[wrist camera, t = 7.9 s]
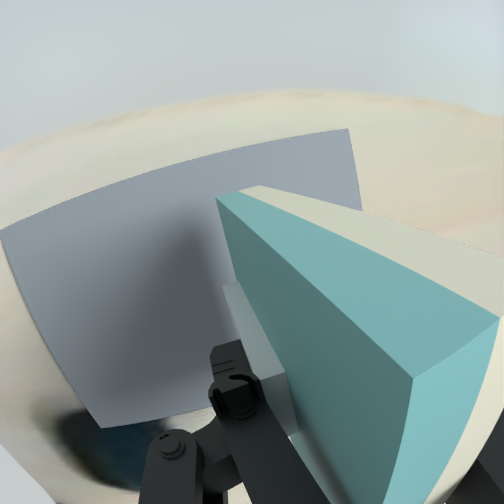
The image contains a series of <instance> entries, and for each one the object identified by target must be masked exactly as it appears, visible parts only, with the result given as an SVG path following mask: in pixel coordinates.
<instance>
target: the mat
mask: <svg viewBox="0 0 504 504" xmlns="http://www.w3.org/2000/svg"><path fill="white" fill-rule="evenodd" d="M259 185H260V186H264V187H269V188H273V189H277V190H282V191H286V192H290V193H294V194H298V195H302V196H306V197H310V198H314V199H318V200H322V201H325V202H329V203H333V204H337V205H340V206H344V207H348V208H351V209H355V210H358V211H362V205H361V198H360V191H359V185H358V179H357V173H356V167H355V161H354V156H353V151H352V146H351V141H350V136H349V131H348V129H341V130H334V131H327V132H321V133H314V134H308V135H302V136H296V137H291V138H285V139H280V140H275V141H270V142H265V143H260V144H255V145H250V146H246V147H241V148H237V149H233V150H228V151H224V152H220V153H216V154H212V155H208V156H204V157H200V158H196V159H192V160H189V161H185V162H181V163H178V164H174V165H171V166H167V167H164V168H161V169H157V170H154V171H151V172H147V173H144V174H141V175H138V176H135V177H132V178H129V179H126V180H123V181H120V182H117V183H114V184H111V185H108V186H105V187H102V188H100V189H97V190H94V191H91V192H89V193H86V194H83V195H81V196H78V197H75V198H73V199H70V200H68V201H65V202H63V203H60V204H58V205H55V206H53V207H51V208H48V209H46V210H43V211H41V212H39V213H36V214H34V215H32V216H30V217H27V218H25V219H23V220H21V221H19V222H16V223H14V224H12V225H10V226H8V227H6V228H4V229H2V230H0V236H1V239H2V243H3V246H4V249H5V252H6V255H7V257H8V260H9V263H10V266H11V268H12V271H13V274H14V276H15V279H16V281H17V284H18V286H19V289H20V291H21V293H22V296H23V298H24V300H25V302H26V305H27V307H28V309H29V311H30V313H31V315H32V318H33V320H34V322H35V324H36V326H37V328H38V330H39V332H40V334H41V335H42V337H43V339H44V341H45V343H46V345H47V347H48V348H49V350H50V352H51V354H52V356H53V357H54V359H55V361H56V362H57V364H58V366H59V368H60V369H61V371H62V372H63V374H64V376H65V377H66V379H67V380H68V382H69V384H70V385H71V387H72V388H73V390H74V391H75V393H76V394H77V396H78V397H79V399H80V400H81V402H82V403H83V404H84V406H85V407H86V409H87V410H88V411H89V413H90V414H91V415H92V417H93V418H94V419H95V421H96V422H97V423H98V425H99V426H100V427H101V428H107V427H114V426H121V425H127V424H133V423H139V422H145V421H150V420H156V419H161V418H165V417H170V416H175V415H179V414H184V413H188V412H192V411H196V410H200V409H204V408H208V407H212V404H211V402H210V400H209V398H208V390H209V388H210V386H211V384H212V383H213V382H214V378H213V373H212V367H211V362H210V357H209V356H210V354H211V352H212V349H213V347H214V346H218V345H221V344H225V343H228V342H231V341H235V340H238V337H237V333H236V330H235V327H234V324H233V320H232V317H231V314H230V310H229V307H228V304H227V300H226V297H225V294H224V290H223V287H222V286H224V285H227V284H230V283H234V282H237V279H236V275H235V272H234V268H233V264H232V260H231V257H230V253H229V249H228V245H227V241H226V238H225V234H224V230H223V226H222V222H221V218H220V214H219V210H218V207H217V203H216V199H215V197H216V196H220V195H223V194H227V193H231V192H235V191H239V190H243V189H247V188H251V187H255V186H259Z"/></svg>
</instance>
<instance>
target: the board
mask: <svg viewBox="0 0 504 504" xmlns="http://www.w3.org/2000/svg"><path fill="white" fill-rule="evenodd" d="M215 199H216V203H217V207H218V210H219V214H220V218H221V222H222V226H223V230H224V234H225V238H226V241H227V245H228V249H229V253H230V257H231V260H232V264H233V268H234V272H235V275H236V279H237V281H239V283H240V285H241V287H242V289H243V291H244V293H245V295H246V297H247V299H248V301H249V303H250V305H251V307H252V309H253V311H254V313H255V315H256V317H257V318H258V320H259V322H260V324H261V326H262V328H263V330H264V332H265V334H266V336H267V338H268V340H269V342H270V344H271V346H272V348H273V349H274V351H275V353H276V355H277V357H278V359H279V361H280V363H281V365H282V367H283V369H284V370H285V373H286V377H287V382H288V386H289V391H290V395H291V399H292V404H293V408H294V413H295V417H296V421H297V426H298V430H299V432H298V433H295V434H292V435H290V438H291V440H292V442H293V445H294V447H295V449H296V451H297V452H298V454H299V456H300V457H301V459H302V460H303V462H304V463H305V465H306V467H307V468H308V470H309V471H310V473H311V474H312V476H313V477H314V479H315V480H316V482H317V483H318V485H319V487H320V488H321V490H322V491H323V492H324V494H325V495H326V497H327V498H328V500H329V501H330V503H331V504H444V503H445V502H446V500H447V499H448V498H449V497H450V495H451V494H452V493H453V491H454V490H455V489H456V487H457V486H458V485H459V483H460V482H461V480H462V479H463V477H464V476H465V475H466V473H467V472H468V470H469V469H470V467H471V465H472V464H473V462H474V461H475V459H476V458H477V456H478V454H479V453H480V451H481V449H482V448H483V446H484V444H485V443H486V441H487V439H488V437H489V436H490V434H491V432H492V430H493V428H494V426H495V424H496V422H497V420H498V418H499V416H500V414H501V412H502V410H503V408H504V259H502V258H499V257H496V256H494V255H491V254H489V253H486V252H483V251H481V250H478V249H475V248H473V247H470V246H467V245H464V244H462V243H459V242H456V241H453V240H450V239H447V238H444V237H442V236H439V235H436V234H433V233H430V232H427V231H424V230H421V229H417V228H414V227H411V226H408V225H405V224H402V223H399V222H395V221H392V220H389V219H386V218H382V217H379V216H375V215H372V214H369V213H365V212H362V211H358V210H355V209H351V208H348V207H344V206H340V205H337V204H333V203H329V202H325V201H322V200H318V199H314V198H310V197H306V196H302V195H298V194H294V193H290V192H286V191H282V190H277V189H273V188H269V187H264V186H260V185H259V186H255V187H251V188H247V189H243V190H239V191H235V192H231V193H227V194H223V195H220V196H216V197H215Z"/></svg>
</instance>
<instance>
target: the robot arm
mask: <svg viewBox="0 0 504 504" xmlns="http://www.w3.org/2000/svg"><path fill="white" fill-rule="evenodd" d="M222 287H223V290H224V294H225V297H226V300H227V304H228V307H229V310H230V314H231V317H232V320H233V324H234V327H235V330H236V333H237V337H238V340H235V341H231V342H228V343H225V344H221V345H218V346H214V347H213V349H212V352H211V354H210V356H209V357H210V362H211V367H212V373H213V378H214V382H213V383H212V384H211V386H210V388H209V390H208V398H209V400H210V402H211V404H212V407H213V409H214V411H215V413H216V416H215V418H214V419H213V420H212V421H211V422H210V423H209V424H208V425H206V426H205V427H203V428H201V429H200V430H198V431H196V432H194V433H192V434H191V433H190V432H187V431H185V430H183V429H172V430H168V431H164V432H163V433H161V434H159V435H157V436H156V437H155V438H154V439H153V440H152V441H151V443H150V445H149V448H148V451H147V456H146V462H145V467H144V473H143V478H142V484H141V490H140V496H139V503H138V504H228V492H227V490H229V489H231V488H233V487H234V486H236V485H238V484H240V483H242V482H243V483H244V486H245V488H246V490H247V493H248V495H249V497H250V500H251V502H252V504H331V503H330V501H329V500H328V498H327V497H326V495H325V494H324V492H323V491H322V490H321V488H320V487H319V485H318V483H317V482H316V480H315V479H314V477H313V476H312V474H311V473H310V471H309V470H308V468H307V467H306V465H305V463H304V462H303V460H302V459H301V457H300V456H299V454H298V452H297V451H296V449H295V448H294V446H293V444H292V443H291V441H290V440H289V438H288V436H290V435H292V434H295V433H298V432H299V430H298V426H297V421H296V417H295V413H294V408H293V404H292V399H291V395H290V391H289V386H288V382H287V377H286V373H285V370H284V369H283V367H282V365H281V363H280V361H279V359H278V357H277V355H276V353H275V351H274V349H273V348H272V346H271V344H270V342H269V340H268V338H267V336H266V334H265V332H264V330H263V328H262V326H261V324H260V322H259V320H258V318H257V317H256V315H255V313H254V311H253V309H252V307H251V305H250V303H249V301H248V299H247V297H246V295H245V293H244V291H243V289H242V287H241V285H240V283H239V281H237V282H234V283H230V284H227V285H224V286H222ZM445 503H446V504H504V408H503V410H502V412H501V414H500V416H499V418H498V420H497V422H496V424H495V426H494V428H493V430H492V432H491V434H490V436H489V437H488V439H487V441H486V443H485V444H484V446H483V448H482V449H481V451H480V453H479V454H478V456H477V458H476V459H475V461H474V462H473V464H472V465H471V467H470V469H469V470H468V472H467V473H466V475H465V476H464V477H463V479H462V480H461V482H460V483H459V485H458V486H457V487H456V489H455V490H454V491H453V493H452V494H451V495H450V497H449V498H448V499H447V500H446V502H445Z"/></svg>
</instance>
